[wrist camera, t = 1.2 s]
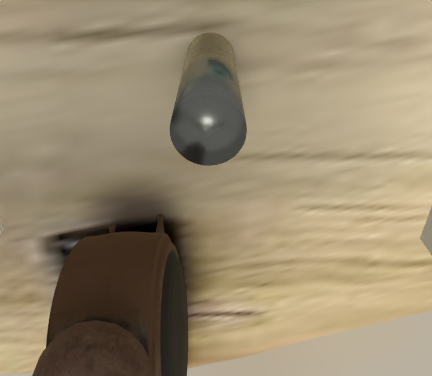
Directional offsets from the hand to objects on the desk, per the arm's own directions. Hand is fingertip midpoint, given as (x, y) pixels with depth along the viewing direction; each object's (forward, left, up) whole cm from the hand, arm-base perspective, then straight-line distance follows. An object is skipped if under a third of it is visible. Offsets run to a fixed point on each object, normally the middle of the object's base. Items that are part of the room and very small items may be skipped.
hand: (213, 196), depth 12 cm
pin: (0, 0, -17) cm, 17 cm away
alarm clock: (-5, -17, -17) cm, 24 cm away
